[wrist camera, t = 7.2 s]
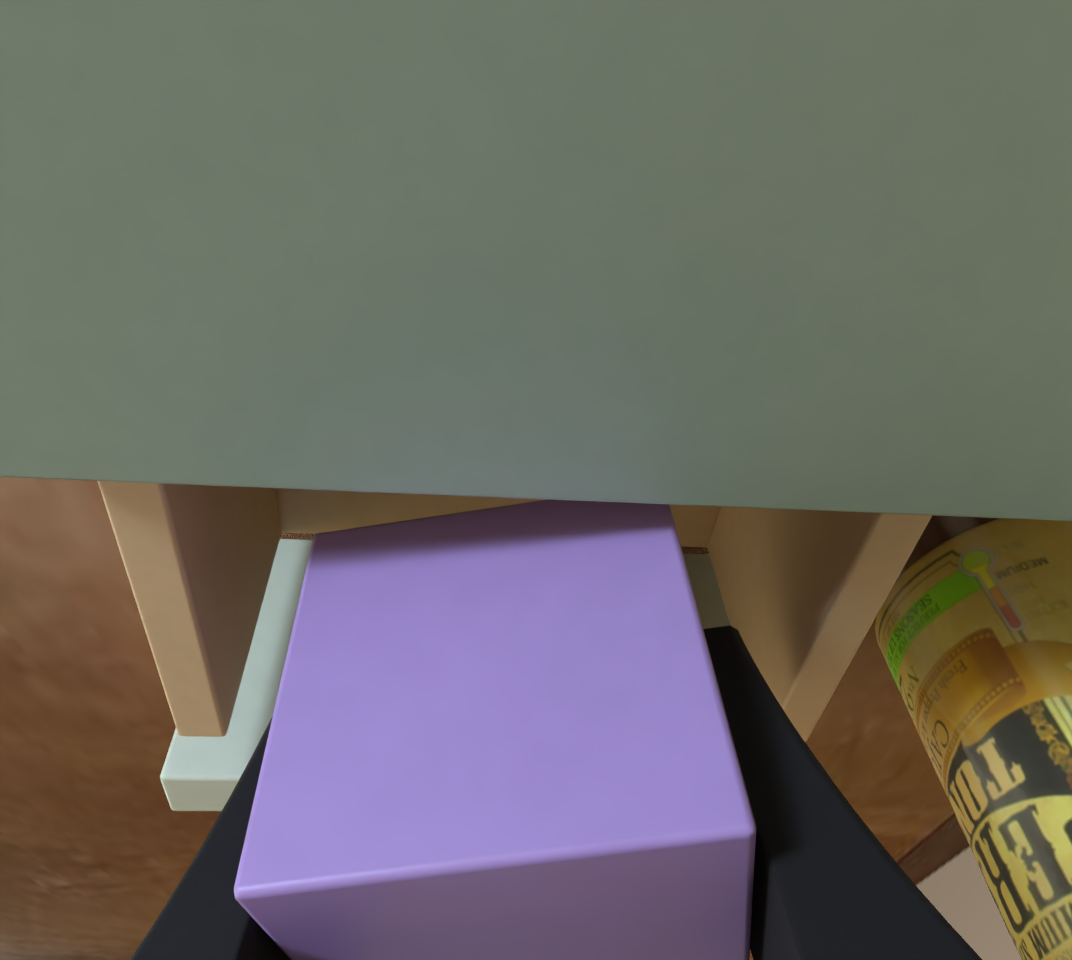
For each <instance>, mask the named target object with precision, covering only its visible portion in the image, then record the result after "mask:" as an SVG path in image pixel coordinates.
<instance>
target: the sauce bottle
mask: <svg viewBox="0 0 1072 960" xmlns="http://www.w3.org/2000/svg"><path fill="white" fill-rule="evenodd" d="M875 619H876V624H875V634H876V639H877V642H878V645H879V647H880V649H881V652H882V654H883V656H884V658H885V660H886V663H887V665H888V667H889V669H890V672H891V674H892V676H893V678H894V680H895V682H896V685H897V687H898V689H899V691H900V693H901V695H902V698H903V700H904V702H905V704H906V707H907V709H908V711H909V713H910V716H911V718H912V720H913V722H914V725H915V727H916V729H917V731H918V734H919V736H920V738H921V740H922V742H923V745H924V747H925V749H926V751H927V753H928V756H929V758H930V760H931V762H932V764H933V767H934V769H935V771H936V773H937V775H938V778H939V780H940V782H941V784H942V786H943V788H944V791H945V793H946V795H947V797H948V799H949V801H950V804H951V806H952V809H953V811H954V813H955V815H956V818H957V821H958V823H959V825H960V827H961V829H962V830H963V832H964V834H965V836H966V838H967V841H968V843H969V845H970V847H971V849H972V852H973V853H974V856H975V858H976V860H977V862H978V865H979V867H980V869H981V871H982V874H983V876H984V878H985V881H986V883H987V885H988V888H989V890H990V892H991V894H992V897H993V899H994V901H995V903H996V905H997V907H998V909H999V911H1000V914H1001V915H1002V918H1003V920H1004V922H1005V925H1006V927H1007V929H1008V932H1009V933H1010V935H1011V937H1012V939H1013V941H1014V944H1015V946H1016V949H1017V951H1018V953H1019V954H1020V956H1021V958H1022V960H1072V521H1054V520H1030V519H1006V518H982V517H958V516H934V515H932V517H931V519H930V521H929V523H928V524H927V526H926V528H925V530H924V532H923V533H922V535H921V537H920V539H919V541H918V542H917V544H916V546H915V548H914V550H913V551H912V553H911V555H910V557H909V558H908V560H907V562H906V564H905V566H904V567H903V569H902V571H901V573H900V575H899V576H898V578H897V580H896V582H895V584H894V585H893V587H892V589H891V591H890V593H889V594H888V596H887V598H886V600H885V602H884V603H883V605H882V607H881V609H880V611H879V612H878V614H877V616H876V618H875Z"/></svg>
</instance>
